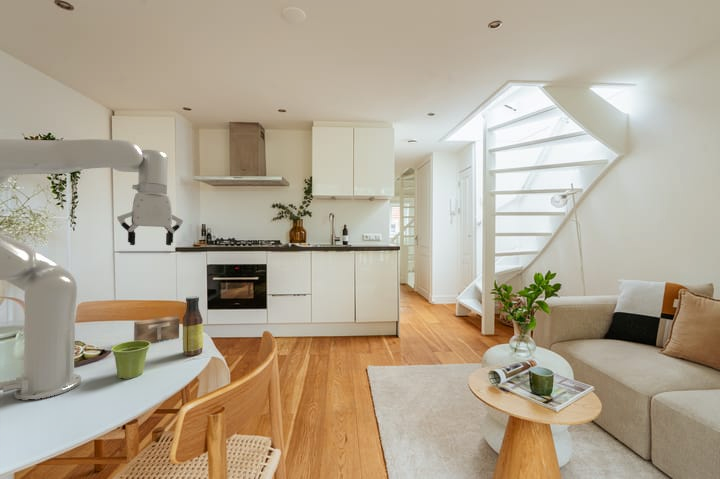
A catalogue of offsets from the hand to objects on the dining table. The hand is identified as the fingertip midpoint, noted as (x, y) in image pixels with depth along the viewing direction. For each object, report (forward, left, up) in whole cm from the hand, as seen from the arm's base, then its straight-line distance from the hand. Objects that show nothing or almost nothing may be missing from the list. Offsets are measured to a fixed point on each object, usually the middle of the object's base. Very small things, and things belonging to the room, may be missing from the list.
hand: (151, 245), depth 98 cm
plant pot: (-5, -4, -39) cm, 39 cm away
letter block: (+8, +25, -38) cm, 46 cm away
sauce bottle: (+14, +2, -39) cm, 41 cm away
